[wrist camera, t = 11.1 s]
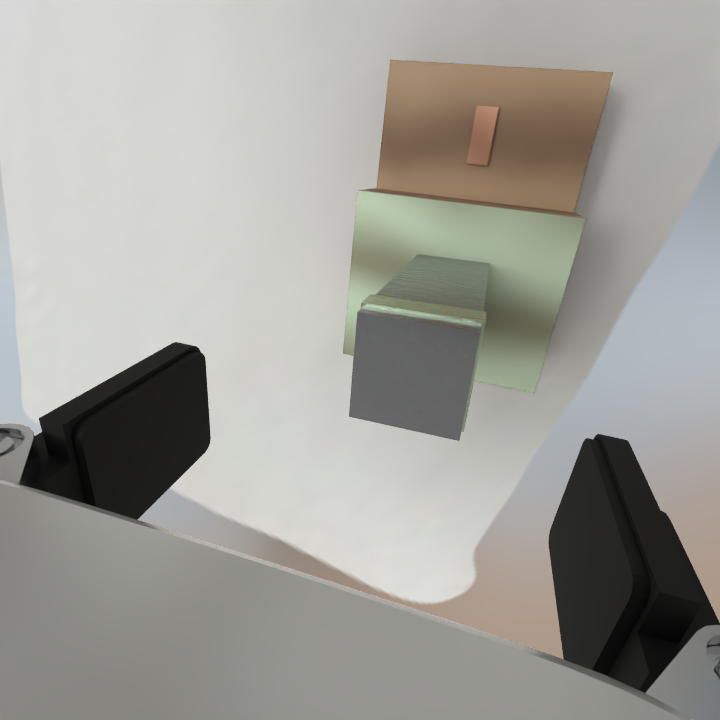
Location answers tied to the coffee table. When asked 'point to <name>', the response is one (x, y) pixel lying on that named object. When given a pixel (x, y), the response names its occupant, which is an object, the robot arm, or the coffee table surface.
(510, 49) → the coffee table surface
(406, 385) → the column
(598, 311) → the coffee table surface
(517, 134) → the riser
